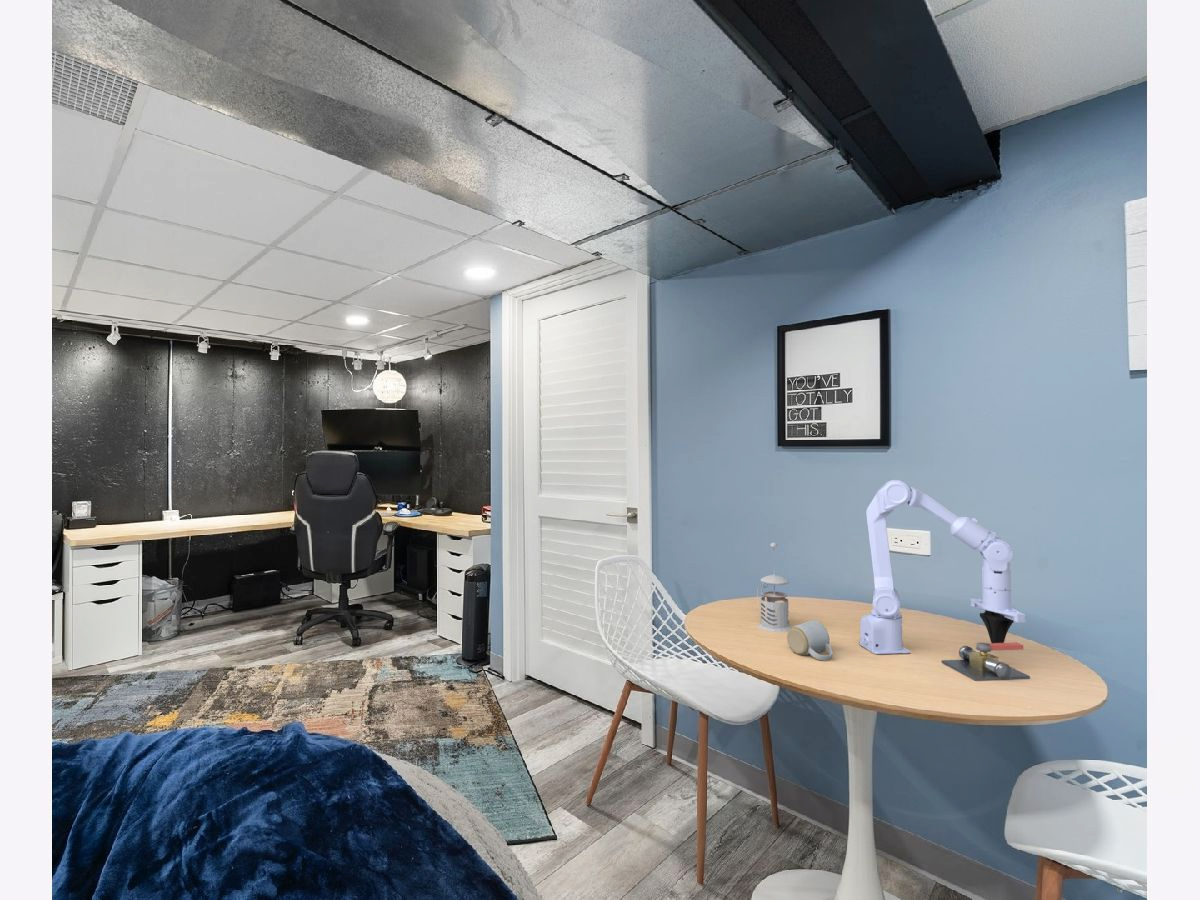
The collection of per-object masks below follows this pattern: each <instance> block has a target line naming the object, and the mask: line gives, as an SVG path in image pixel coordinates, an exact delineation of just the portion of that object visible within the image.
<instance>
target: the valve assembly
mask: <svg viewBox="0 0 1200 900" xmlns="http://www.w3.org/2000/svg"><path fill="white" fill-rule="evenodd" d="M958 656H959V658H960V659H944V660H943V659H942V660H941V663H942V664H943V665H945V666H947V667H949V668H950V669H953V670H954V671H956V672H958V673H960V674H962V675H963V676H966V678H969V679H970V680H972V681H976V682H978V681H980V682H981V681H1001V680H1003V681H1004V680H1006V681H1008V680H1028V679H1029V680H1030V679H1031V676H1030V675H1029V674H1026V673H1024V672H1022V671H1020V670H1018V669H1016V668H1013V667H1012V666H1010V665H1009V664H1008V663H1006V662H1001V661H999V657H998V656H996V655H994V654H991V653H990V652H983V651H976V650H974V649H973V648H972V647H971V646H969V645H963V646H961V647H960V648H959V651H958Z"/></svg>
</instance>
